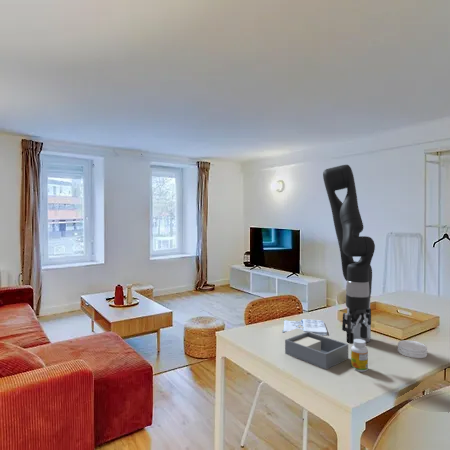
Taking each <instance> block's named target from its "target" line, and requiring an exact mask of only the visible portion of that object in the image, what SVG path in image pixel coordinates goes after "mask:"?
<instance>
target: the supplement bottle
mask: <svg viewBox="0 0 450 450" xmlns="http://www.w3.org/2000/svg"><path fill="white" fill-rule="evenodd" d="M366 344H367V342H366V341H365V340H362V339H354V343H353V344H352V346H351V347H350V349H351V350H350V365H351V367H352V368H353V369H354V371H356V372H362V373H364V372H366V371H368V370H369V349H368V348H367V347H366Z"/></svg>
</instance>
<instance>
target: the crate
mask: <svg viewBox="0 0 450 450" xmlns="http://www.w3.org/2000/svg"><path fill="white" fill-rule="evenodd" d="M304 337H310V338H313V339H316V340H319V341H321V351H317V350H315V349H312V348H309V347H306V346H303V345H300V344H298V343H295V342H293V341H296V340H299V339H301V338H304ZM284 346H285V347H284V349H285V350H284V354H285V355H287V356H290V357H294V358H295V359H297V360H298V359H299V360H301V361H303V362H306V363H307V364H311V365H313V366H316V367H318V368H321V369H323V370H328V369H330V368H332V367H334V366H337V365H339V364H340V363H342V362H344V361H346V360H348V359H349V343H347V342H346V343H345V342H342V341H339V340H336V339H333V338H329V337H326V336H324V335H318V334H315V333H312V332H303V333H301V334H298V335H295V336H292V337H289V338H287V339H284Z"/></svg>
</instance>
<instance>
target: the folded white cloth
mask: <svg viewBox="0 0 450 450" xmlns="http://www.w3.org/2000/svg"><path fill="white" fill-rule="evenodd" d="M299 325H301V327H298V326H299ZM296 329H298V330H302V331H303V333H306V332H310V333H314V334H317V335H320V336H328V332H329V331H328V330H327V326H326V323H325V321H324V320H320V319H310V318H309V319H308V318H302V319H301V320H299V321H298V320H287V319H286V320H283V330H282V333H287V332H291V331H294V330H296Z"/></svg>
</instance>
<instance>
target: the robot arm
mask: <svg viewBox="0 0 450 450" xmlns="http://www.w3.org/2000/svg"><path fill="white" fill-rule="evenodd" d="M322 178H323V183H324V187H325V191H326V193H327V198H328V201H329V206H330V209H331V214H332V220H333V226H334V230H335V234H336V239H337V243H338V247H339V253H340V254H339V255H340V261H341V269H342V274H343V277H344V280H345V281H346V286H345V307H346V312H343V313H342V325H341V326H342V327H341V328H342V329H341V330H342V331H343V332H346V344H349V345H354V344H353V343H354V339H362V340H365V341H366V343H369V342H371V337H372V334H371V330H372V329H371V327H372V326H371V325H372V309H371V295H372V283H373V282H372V281H373V268H372V266H371V263H372V260H373V257H374V253H375V250H376V245H375V241H374V240H373V238H372V237H370V236H367V235H365V236H361V235H360V233H362V232H363V230H364V222H363V220H362V215H361V212H360V209H359V204H358V196H357V195H358V194H357V189H356V182H355V177H354V173H353V169H352V167H351V166H350V165H349V164H342V165H338V166H332V167H330V168H326V169H324V170H323V172H322ZM345 189H347V190H346V195H345V198H344V199H343V201H341V199H339V197H338V196H337V194H336V191H340V190H345ZM353 257H359V259H358V261H356V260H354V258H353Z"/></svg>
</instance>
